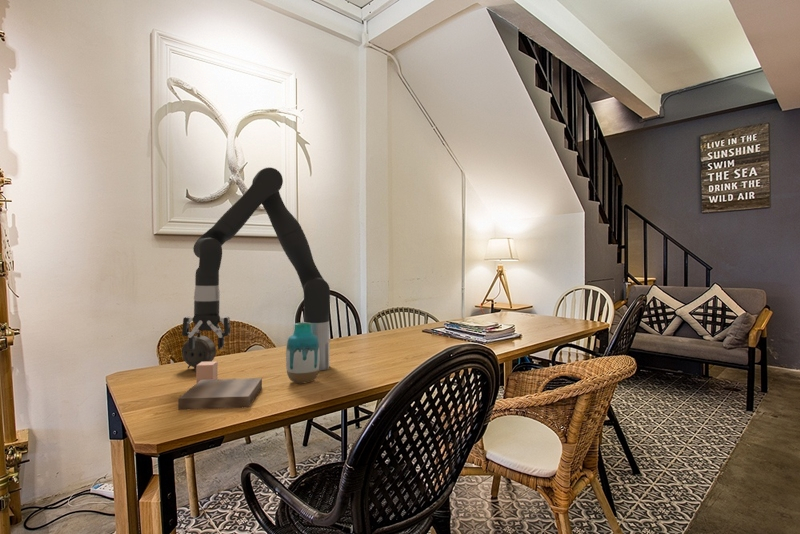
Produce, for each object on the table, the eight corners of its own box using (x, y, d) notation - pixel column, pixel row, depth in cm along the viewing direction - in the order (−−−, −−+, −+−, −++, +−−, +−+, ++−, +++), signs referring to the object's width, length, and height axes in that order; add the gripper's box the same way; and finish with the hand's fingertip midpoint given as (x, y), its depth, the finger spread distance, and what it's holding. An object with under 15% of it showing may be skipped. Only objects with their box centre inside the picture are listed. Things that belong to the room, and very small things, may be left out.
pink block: (217, 379, 144) (217, 361, 144) (212, 383, 139) (212, 365, 139) (201, 379, 143) (201, 361, 143) (196, 384, 138) (196, 365, 138)
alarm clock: (216, 368, 158) (216, 323, 158) (208, 372, 153) (208, 326, 153) (188, 367, 159) (188, 323, 159) (179, 371, 154) (179, 325, 154)
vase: (308, 376, 148) (308, 320, 148) (325, 382, 141) (326, 323, 141) (279, 382, 141) (280, 323, 141) (297, 389, 133) (297, 327, 133)
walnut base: (261, 387, 135) (261, 378, 134) (248, 407, 117) (248, 396, 117) (201, 389, 132) (201, 379, 132) (178, 409, 114) (178, 398, 114)
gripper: (232, 298, 145) (232, 346, 146) (188, 298, 144) (187, 346, 144) (226, 300, 138) (225, 351, 138) (179, 300, 136) (178, 351, 137)
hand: (206, 348), depth 141 cm, fingers open, 8 cm apart
